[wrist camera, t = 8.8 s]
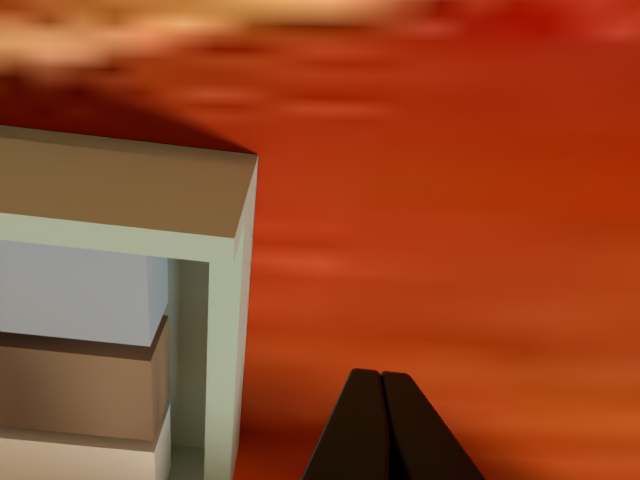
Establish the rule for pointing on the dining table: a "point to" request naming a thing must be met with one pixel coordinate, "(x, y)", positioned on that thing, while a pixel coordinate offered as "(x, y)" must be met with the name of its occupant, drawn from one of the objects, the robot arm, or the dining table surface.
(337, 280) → the dining table surface
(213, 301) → the key bed
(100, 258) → the grey flat block
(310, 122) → the dining table surface
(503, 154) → the dining table surface
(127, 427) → the brown rectangular block
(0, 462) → the ivory key
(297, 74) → the dining table surface
